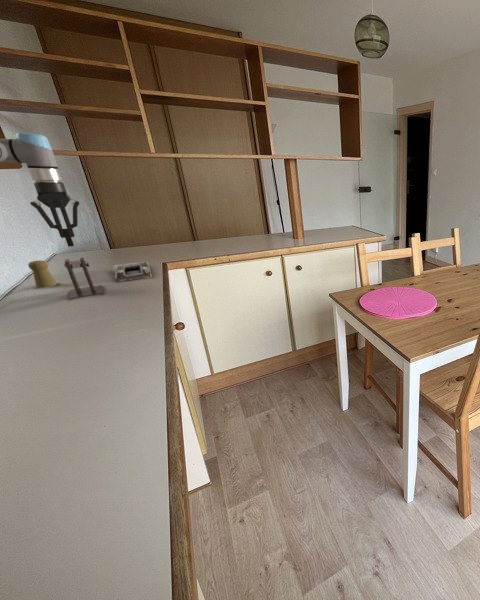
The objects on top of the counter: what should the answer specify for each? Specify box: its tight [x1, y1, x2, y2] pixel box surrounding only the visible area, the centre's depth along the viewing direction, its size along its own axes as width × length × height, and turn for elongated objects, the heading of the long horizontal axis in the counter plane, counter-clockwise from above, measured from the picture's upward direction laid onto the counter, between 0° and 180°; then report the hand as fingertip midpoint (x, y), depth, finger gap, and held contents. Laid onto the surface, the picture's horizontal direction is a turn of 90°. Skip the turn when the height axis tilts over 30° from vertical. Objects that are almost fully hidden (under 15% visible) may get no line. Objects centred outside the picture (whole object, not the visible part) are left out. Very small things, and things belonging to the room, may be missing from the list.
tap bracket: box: [63, 257, 103, 300], centre depth 119 cm, size 12×9×14 cm
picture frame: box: [112, 261, 152, 282], centre depth 145 cm, size 13×25×3 cm, turn 41°
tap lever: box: [69, 260, 90, 269], centre depth 121 cm, size 13×6×2 cm, turn 43°
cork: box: [27, 260, 58, 289], centre depth 126 cm, size 6×6×11 cm
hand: (71, 245), depth 122 cm, fingers closed
